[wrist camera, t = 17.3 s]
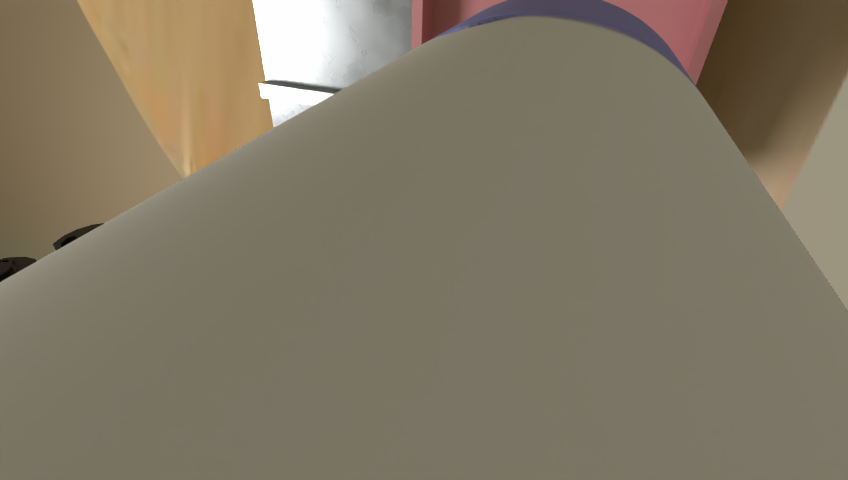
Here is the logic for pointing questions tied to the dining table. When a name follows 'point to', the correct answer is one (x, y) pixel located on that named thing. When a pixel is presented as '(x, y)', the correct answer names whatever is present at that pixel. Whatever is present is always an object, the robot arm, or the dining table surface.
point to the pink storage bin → (652, 3)
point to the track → (325, 47)
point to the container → (445, 289)
